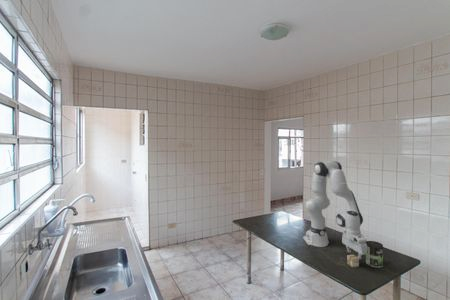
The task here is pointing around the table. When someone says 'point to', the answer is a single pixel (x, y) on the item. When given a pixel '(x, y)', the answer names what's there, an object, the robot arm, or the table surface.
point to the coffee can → (374, 254)
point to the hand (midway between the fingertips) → (354, 255)
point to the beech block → (352, 260)
